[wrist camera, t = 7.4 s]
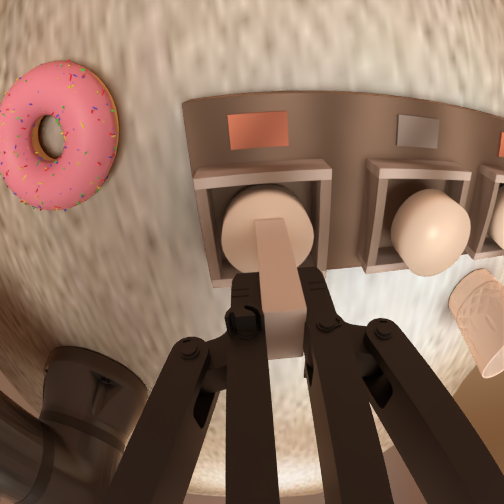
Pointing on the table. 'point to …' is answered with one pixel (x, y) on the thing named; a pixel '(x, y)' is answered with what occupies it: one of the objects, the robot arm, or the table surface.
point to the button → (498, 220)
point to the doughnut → (74, 128)
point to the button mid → (430, 232)
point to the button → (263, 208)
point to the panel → (343, 167)
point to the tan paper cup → (481, 319)
